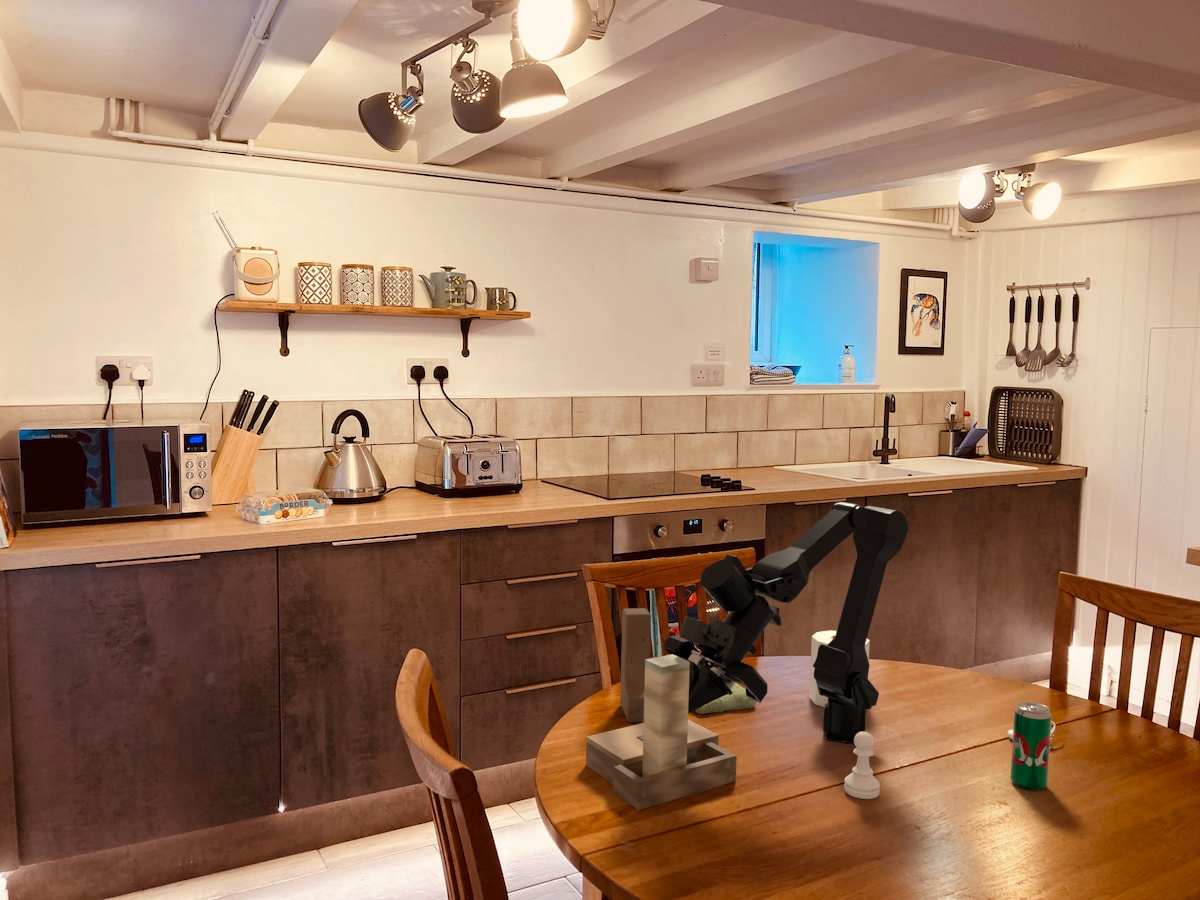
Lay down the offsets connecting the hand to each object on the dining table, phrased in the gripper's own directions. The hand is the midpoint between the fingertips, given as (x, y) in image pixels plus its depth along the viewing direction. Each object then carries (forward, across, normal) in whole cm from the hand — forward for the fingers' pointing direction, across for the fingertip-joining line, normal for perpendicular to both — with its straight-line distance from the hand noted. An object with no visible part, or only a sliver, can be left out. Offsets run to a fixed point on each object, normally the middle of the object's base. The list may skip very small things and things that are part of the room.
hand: (680, 713), depth 138 cm
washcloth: (-12, -27, +28) cm, 40 cm away
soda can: (-25, +27, +40) cm, 54 cm away
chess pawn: (-8, +16, +23) cm, 29 cm away
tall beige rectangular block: (+10, 0, +6) cm, 11 cm away
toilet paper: (-26, -12, +41) cm, 50 cm away
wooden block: (0, -26, +16) cm, 31 cm away
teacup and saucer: (-37, +15, +52) cm, 66 cm away
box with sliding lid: (+8, -5, +8) cm, 12 cm away
